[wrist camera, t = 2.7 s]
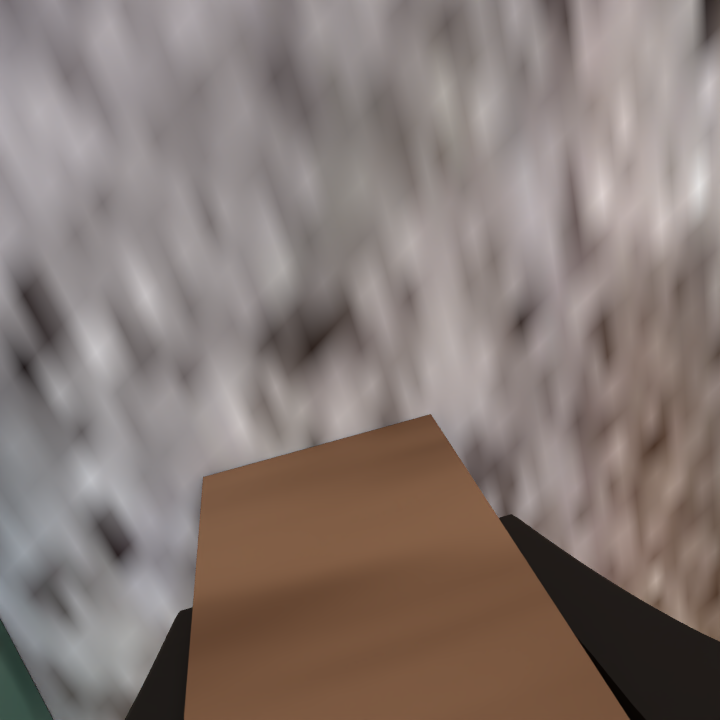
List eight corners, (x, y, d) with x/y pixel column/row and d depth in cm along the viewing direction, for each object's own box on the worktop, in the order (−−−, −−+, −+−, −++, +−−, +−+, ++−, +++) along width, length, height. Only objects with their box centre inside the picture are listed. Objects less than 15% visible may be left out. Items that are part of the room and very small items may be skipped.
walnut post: (466, 595, 13) (686, 1052, 7) (265, 655, 13) (297, 1197, 7) (430, 414, 12) (668, 779, 5) (203, 476, 12) (165, 948, 5)
